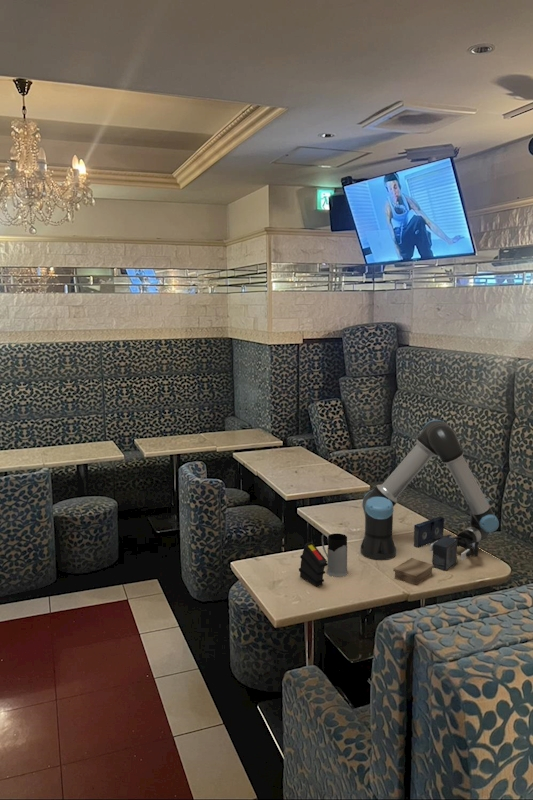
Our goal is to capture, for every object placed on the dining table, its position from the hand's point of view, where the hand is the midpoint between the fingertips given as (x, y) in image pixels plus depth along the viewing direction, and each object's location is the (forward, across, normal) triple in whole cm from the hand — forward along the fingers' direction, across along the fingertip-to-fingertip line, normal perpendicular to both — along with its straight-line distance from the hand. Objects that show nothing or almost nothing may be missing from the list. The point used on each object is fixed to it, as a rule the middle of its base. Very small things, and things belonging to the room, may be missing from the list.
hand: (445, 552), depth 253 cm
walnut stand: (+18, +5, -6) cm, 19 cm away
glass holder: (+34, +32, -6) cm, 47 cm away
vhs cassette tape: (-19, +18, -6) cm, 26 cm away
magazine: (+48, +31, -6) cm, 58 cm away
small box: (0, +1, -6) cm, 6 cm away
